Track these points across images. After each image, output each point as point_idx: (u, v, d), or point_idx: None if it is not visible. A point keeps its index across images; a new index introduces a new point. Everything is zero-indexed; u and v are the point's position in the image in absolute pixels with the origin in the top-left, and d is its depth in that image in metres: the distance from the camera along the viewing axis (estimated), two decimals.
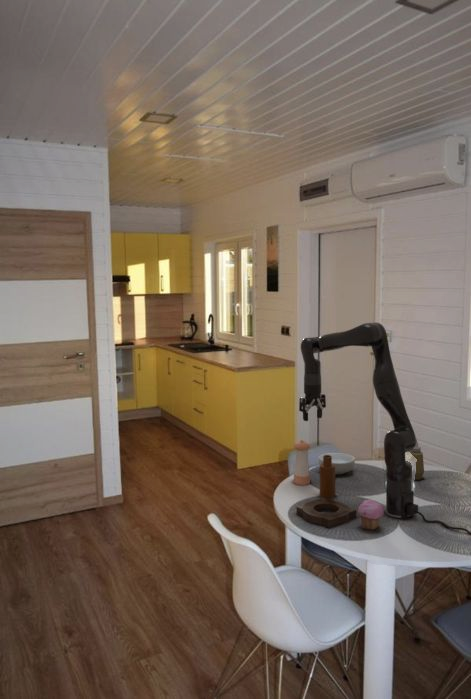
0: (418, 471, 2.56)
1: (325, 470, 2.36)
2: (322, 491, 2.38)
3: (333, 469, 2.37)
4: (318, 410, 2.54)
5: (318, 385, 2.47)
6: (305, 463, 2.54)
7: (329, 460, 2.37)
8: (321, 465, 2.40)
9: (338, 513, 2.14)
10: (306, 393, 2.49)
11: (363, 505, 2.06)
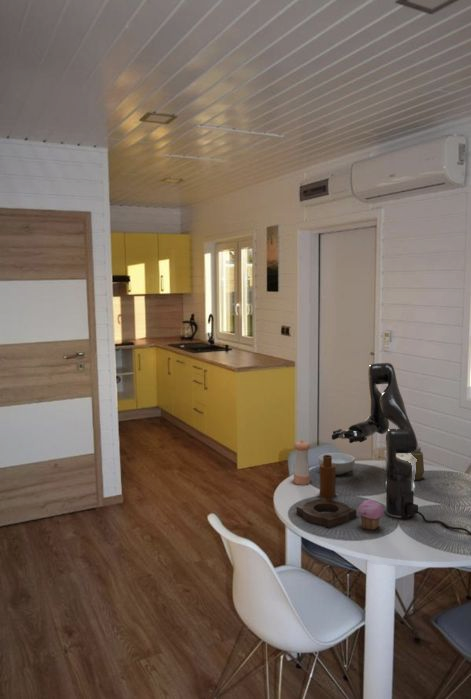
0: (418, 471, 2.56)
1: (325, 470, 2.36)
2: (322, 491, 2.38)
3: (333, 469, 2.37)
4: None
5: (358, 423, 2.58)
6: (305, 463, 2.54)
7: (329, 460, 2.37)
8: (321, 465, 2.40)
9: (338, 513, 2.14)
10: None
11: (363, 505, 2.06)
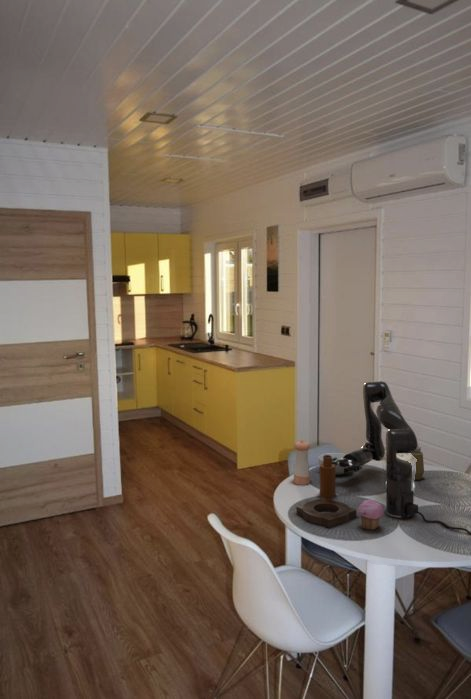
0: (418, 471, 2.56)
1: (325, 470, 2.36)
2: (322, 491, 2.38)
3: (333, 469, 2.37)
4: None
5: (354, 451, 2.56)
6: (305, 463, 2.54)
7: (329, 460, 2.37)
8: (321, 465, 2.40)
9: (338, 513, 2.14)
10: None
11: (363, 505, 2.06)
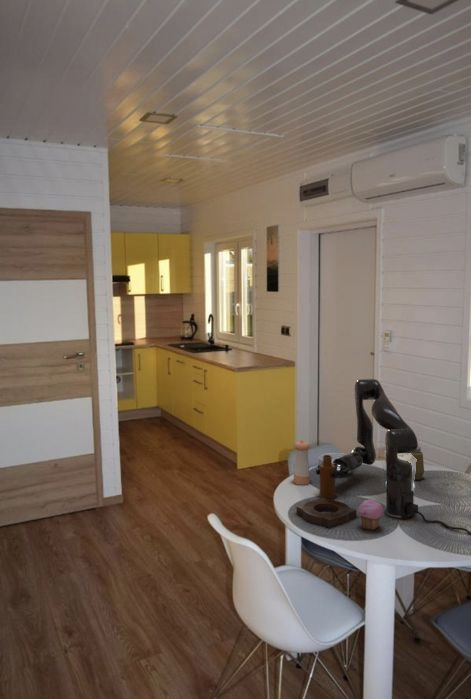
0: (418, 471, 2.56)
1: (325, 470, 2.36)
2: (322, 491, 2.38)
3: (333, 469, 2.37)
4: None
5: (344, 456, 2.50)
6: (305, 463, 2.54)
7: (329, 460, 2.37)
8: (321, 465, 2.40)
9: (338, 513, 2.14)
10: None
11: (363, 505, 2.06)
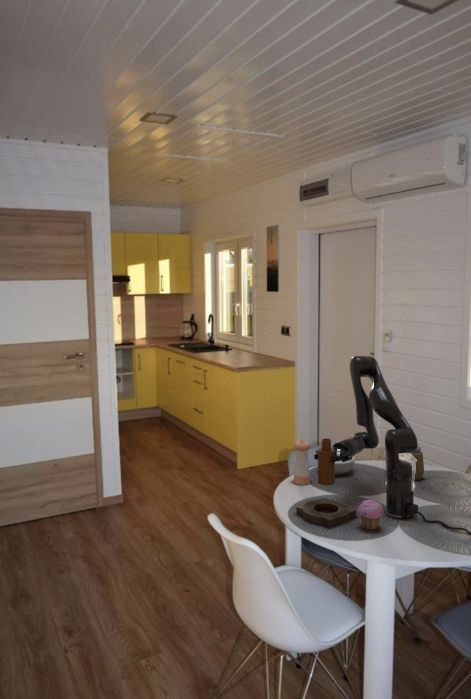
0: (418, 471, 2.56)
1: (324, 455, 2.18)
2: (320, 477, 2.20)
3: (332, 453, 2.18)
4: None
5: (344, 440, 2.31)
6: (305, 463, 2.54)
7: (328, 444, 2.19)
8: (319, 449, 2.21)
9: (338, 513, 2.14)
10: None
11: (363, 505, 2.06)
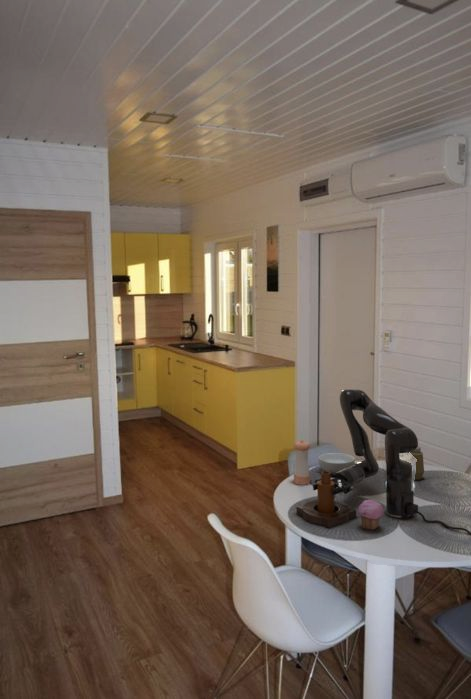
0: (418, 471, 2.56)
1: (324, 488, 2.16)
2: (320, 511, 2.18)
3: (332, 487, 2.16)
4: None
5: (344, 470, 2.29)
6: (305, 463, 2.54)
7: (328, 477, 2.17)
8: (319, 482, 2.19)
9: (338, 513, 2.14)
10: None
11: (363, 505, 2.06)
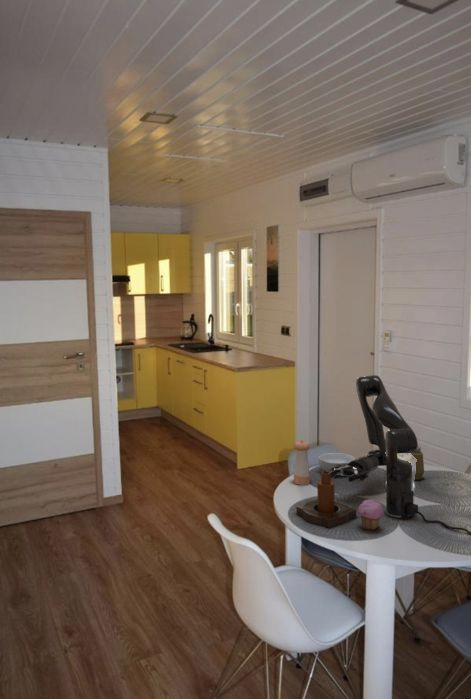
0: (418, 471, 2.56)
1: (324, 488, 2.16)
2: (320, 511, 2.18)
3: (332, 487, 2.16)
4: None
5: (359, 458, 2.37)
6: (305, 463, 2.54)
7: (328, 477, 2.17)
8: (319, 482, 2.19)
9: (338, 513, 2.14)
10: None
11: (363, 505, 2.06)
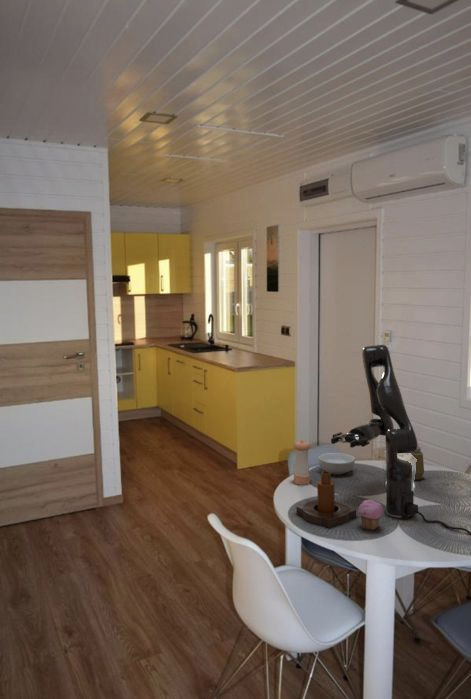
0: (418, 471, 2.56)
1: (324, 488, 2.16)
2: (320, 511, 2.18)
3: (332, 487, 2.16)
4: None
5: (360, 426, 2.37)
6: (305, 463, 2.54)
7: (328, 477, 2.17)
8: (319, 482, 2.19)
9: (338, 513, 2.14)
10: None
11: (363, 505, 2.06)
